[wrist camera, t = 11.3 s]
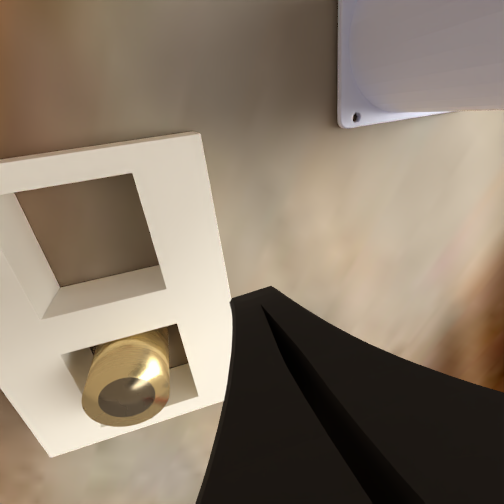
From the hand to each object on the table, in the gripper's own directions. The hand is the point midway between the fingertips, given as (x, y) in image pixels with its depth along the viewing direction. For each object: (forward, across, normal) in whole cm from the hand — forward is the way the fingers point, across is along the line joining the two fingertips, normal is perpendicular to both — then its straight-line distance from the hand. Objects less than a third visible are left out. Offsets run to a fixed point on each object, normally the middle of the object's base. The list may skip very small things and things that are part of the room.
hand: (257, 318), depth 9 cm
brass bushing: (+10, +6, +6) cm, 13 cm away
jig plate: (+9, +6, +3) cm, 12 cm away
